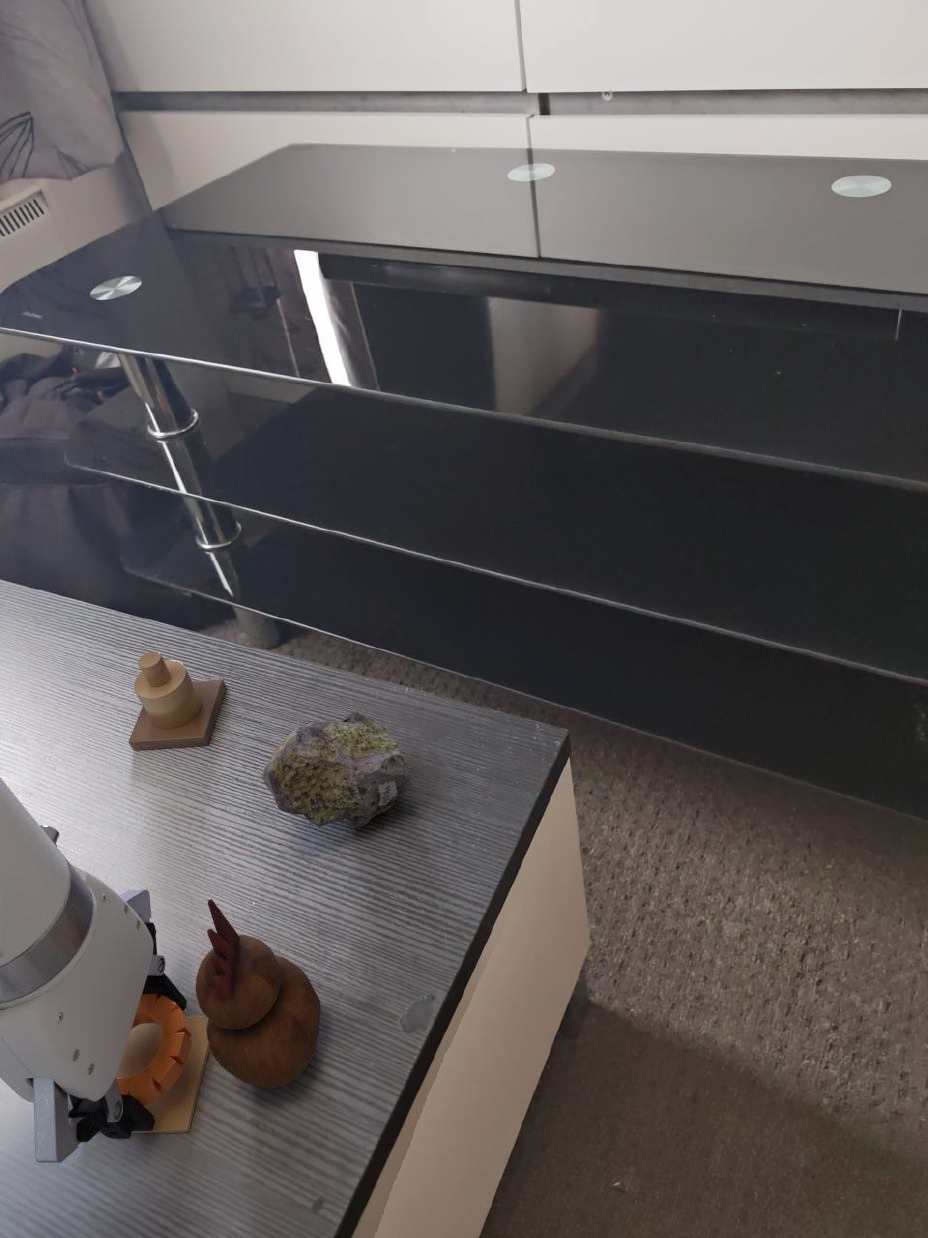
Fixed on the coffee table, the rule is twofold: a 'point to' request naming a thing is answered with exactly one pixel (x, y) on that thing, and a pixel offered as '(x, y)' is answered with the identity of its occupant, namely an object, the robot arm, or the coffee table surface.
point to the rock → (337, 771)
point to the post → (173, 705)
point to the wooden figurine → (256, 1008)
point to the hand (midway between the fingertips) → (148, 1063)
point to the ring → (170, 1052)
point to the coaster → (182, 1096)
